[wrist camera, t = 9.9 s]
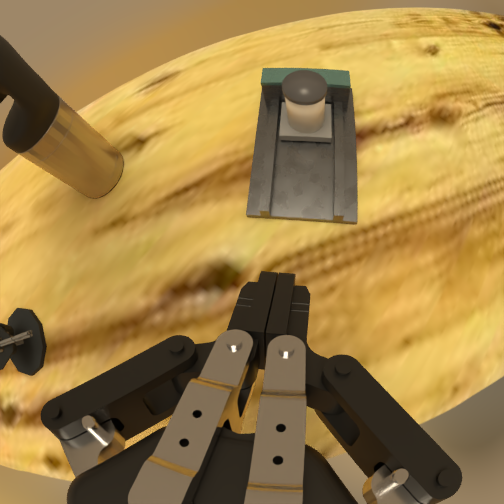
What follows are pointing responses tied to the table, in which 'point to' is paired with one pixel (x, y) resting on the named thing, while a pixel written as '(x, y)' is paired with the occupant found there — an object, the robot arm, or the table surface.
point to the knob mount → (304, 158)
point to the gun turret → (23, 342)
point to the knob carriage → (305, 108)
